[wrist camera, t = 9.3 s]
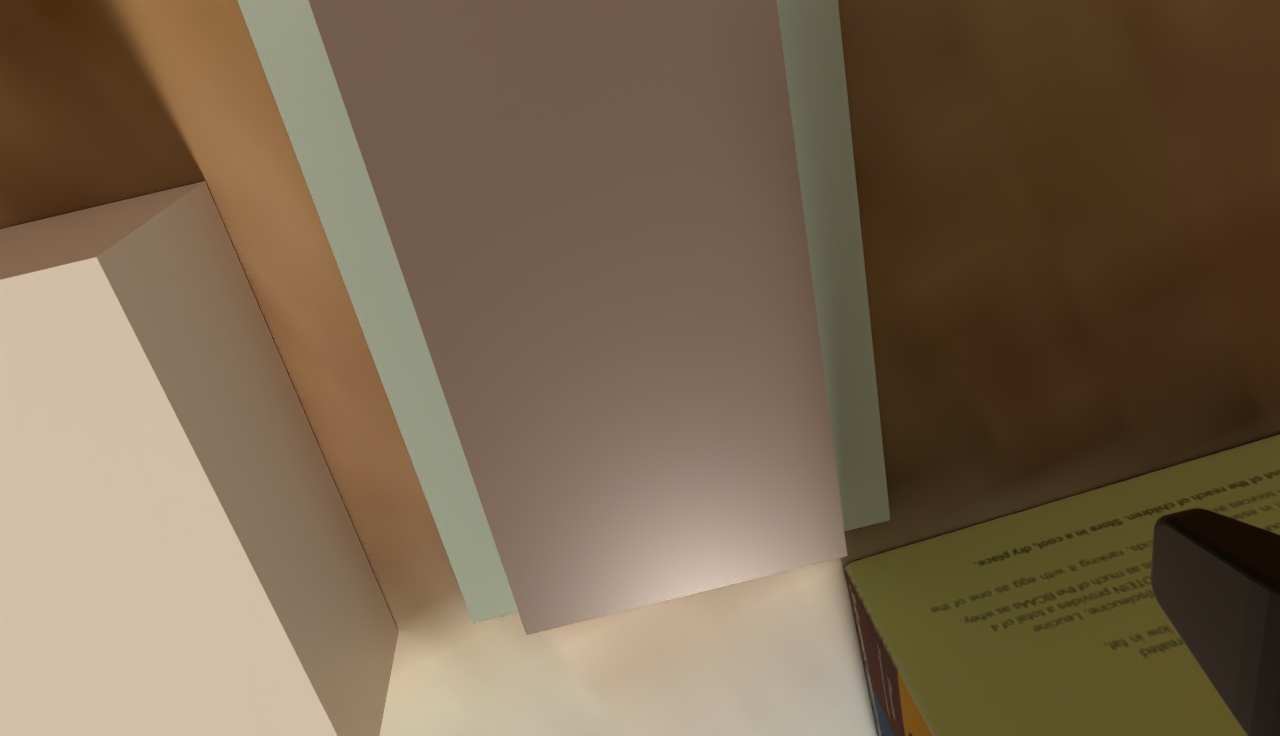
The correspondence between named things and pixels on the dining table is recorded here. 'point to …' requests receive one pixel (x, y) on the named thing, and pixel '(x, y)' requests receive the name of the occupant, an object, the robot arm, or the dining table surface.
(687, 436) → the lid
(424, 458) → the mat
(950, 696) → the protein box
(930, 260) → the dining table surface
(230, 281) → the box
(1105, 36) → the dining table surface
